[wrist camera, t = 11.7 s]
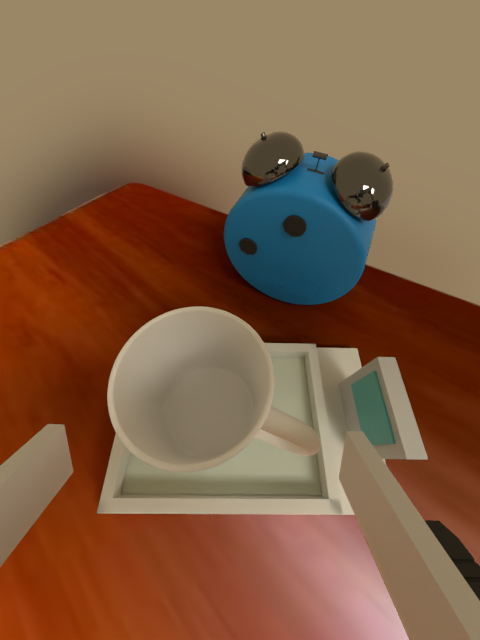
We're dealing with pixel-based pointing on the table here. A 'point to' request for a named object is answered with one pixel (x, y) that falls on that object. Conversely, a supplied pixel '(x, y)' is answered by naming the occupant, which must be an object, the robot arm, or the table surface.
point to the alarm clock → (305, 219)
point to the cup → (198, 392)
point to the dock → (277, 464)
